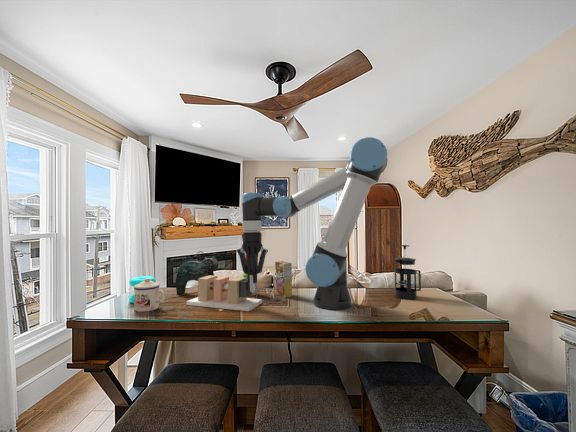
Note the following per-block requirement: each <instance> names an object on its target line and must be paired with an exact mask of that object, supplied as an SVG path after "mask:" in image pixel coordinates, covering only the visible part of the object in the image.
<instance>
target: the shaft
mask: <svg viewBox="0 0 576 432" xmlns="http://www.w3.org/2000/svg"><path fill="white" fill-rule="evenodd" d="M210 289H214V283H210ZM222 290H228V284H222ZM250 295H252V292H250V283H248V280H246V279H245V280H242V281H240V282H239V297H244V298H246V297H247V298H249V297H251V296H250Z"/></svg>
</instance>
